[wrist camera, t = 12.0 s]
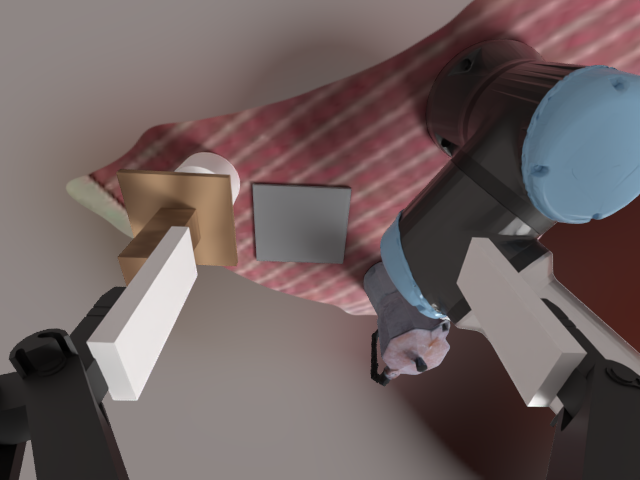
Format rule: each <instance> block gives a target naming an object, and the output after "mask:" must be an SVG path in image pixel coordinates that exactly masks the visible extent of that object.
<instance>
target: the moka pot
mask: <svg viewBox="0 0 640 480" xmlns="http://www.w3.org/2000/svg"><path fill="white" fill-rule="evenodd" d="M364 290H365V292H366V294H367V296H368V298H369V300H370V302H371V304H372V306H373V307H374V309H375V311H376V313H377V315H378V319H377V325H378V329H377V331H376V332H375V333H373V334H372V344H371V345H372V353H371V357H372V358H371V379H373V380H374V381H376V382H377V383H378V382H379V384H381V385H383V386H386V384H387V383H389V381H390V380H391V379H395V378H396V377H397V376H399V374H400V373H402V374H413V375H417V374H419V373H422V372H424V371H427V370H429V369H431V368H434V367H436V366H438V365H440V363H441V362H442V360H443V358H444V356H445V355H446V353H447V352H448V350H449V348H450V346H449V344H448V343H447V341H446V339H445V338H446V336H447V334H448V332H449V328H450V322H449V320H447V319H445V320H442V319H440V318H438V319H434V318H430V317H427V316H425V315H424V314H422V313H421V312H419V311H418V309H417V307H416V306H412V305H411V304H410V303H409V302H408V301H407V300H406V299H405V298H404V297H403V296H402V294H401V293H400V292H399V291H398V289H397V288H396V286H395V285H394V283H393V282H392V280H391V279H390V277H389V275H388V273H387V271H386V269H385V267H384V264H383V262H379V263H377V264H375V265H374V266H372V267H371V268H370V269H369V270H368V272H367V273H366V274H365V276H364ZM378 337H379V341H380V348H381V357H382V359H383V361H384V362H385V363H386V364H387V366H386V367H385V368H384V371H383V372H382V374H381V375H379V374H378V373H377V368H378V363H377V348H376V347H377V344H376V343H377V339H378Z"/></svg>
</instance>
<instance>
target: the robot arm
mask: <svg viewBox="0 0 640 480" xmlns="http://www.w3.org/2000/svg"><path fill="white" fill-rule="evenodd" d="M426 121H427V127H428V131H429V133H430V136H431V138H432V139H433V141H434V142H435V144H436V145H437V146H438V147H439V148H440V149H441V150H442V151H443V152H444V153H446V154H447V155H448V156H450V157H452V159H451V160H449V162H448V163H447V164H446V165H445V166H444V167H443V168H442V169H441V170H440V171H439V173H438V174H437V175H436V176H435V177H434V178H433V179H432V180H431V181H430V182H429V183H428V185H427V186H426V187H425V188H424V189H423V190H422V191H421V192H420V193H419V194H418V195H417V196H416V197H415V198H414V199H413V200H412V202H411V203H410V204H409V205H408V206H407V207H406V208H405V209H403V210H402V211H400V212H399V214H398V215H397V217H396V220H395V221H394V222H393V223H392V225H391V226H390V227H389V228H388V229H387V230H386V232H385V233H384V235H383V236H382V239H381V244H380V248H381V258H382V261H383V264H384V267H385V269H386V271H387V273H388V275H389V277H390V279H391V280H392V282H393V283H394V285H395V286H396V288H397V289H398V291H399V292H400V293H401V294H402V296H403V297H404V298H405V299H406V300H407V301H408V302H409V303H410V304H411V305H412V306H416V307H417V309H418V311H419V312H421V313H422V314H424V315H425V316H427V317H430V318H434V319H438V318H444V317H446V316H448V318H449V319H450V320H451V321H452V322H453V323H454V324H455V325H456V326H457V327H458V328H463V329H470V330H477V331H479V332H481V333H483V334H484V336H485V337H487V339H488V340H489V341H490V342H491V344H492V346H493V347H494V349H495V351H496V353H497V354H498V356H499V358H500V359H501V361H502V363H503V365H504V366H505V368H506V370H507V372H508V373H509V375H510V377H511V379H512V380H513V382H514V384H515V385H516V387H517V389H518V391H519V392H520V394H521V396H522V398H523V399H524V401H525V403H526V405H527V406H539V407H540V406H541V407H550V408H551V409H552V410H553V411H554V412H555V413H556V414H557V415H556V416H555V418H554V419H553V421H552V422H551V424H550V425H551V426H552V427H554V425H555V424H556V423H557V426H556V431H555V436H554V441H553V446H552V451H551V456H550V461H549V466H548V471H547V476H546V480H640V354H639V353H638V352H637V351H636V350H635V349H634V348H632V347H631V346H630V345H629V344H628V343H627V342H626V341H625V340H623V339H622V338H621V337H620V336H619V335H618V334H617V333H616V332H615V331H613V330H612V329H611V328H610V327H609V326H608V325H607V324H606V323H604V322H603V321H602V320H601V319H600V318H599V317H598V316H597V315H595V314H594V313H593V312H592V311H591V310H590V309H589V308H588V307H586V306H585V305H584V304H583V303H582V302H581V301H580V300H578V299H577V298H576V297H575V296H574V295H573V294H572V293H571V292H569V291H568V290H567V289H566V288H565V287H564V286H563V285H562V284H560V283H559V282H558V281H557V280H556V278H555V277H554V275H553V254H552V253H551V252H550V251H549V250H548V249H547V248H546V247H544V246H543V245H542V244H541V243H540V242H539V241H538V238H539V237H540V236H541V235H542V234H543V233H544V232H546V231H547V230H548V229H549V228H551V227H552V226H553V225H554V224H555V223H556V222H565V223H573V224H575V223H579V224H580V223H586V222H589V221H590V219H591V218H595V219H602V218H605V217H607V216H609V215H611V214H613V213H615V212H616V211H618V210H619V209H621V208H623V207H624V206H626V205H627V204H628V203H630V202H631V201H632V200H633V199H634V198H636V197H637V196H638V195H639V194H640V76H639V75H635V74H631V73H627V72H623V71H618V70H617V69H615V68H613V67H610V68H609V67H608V66H604V65H593V66H584V65H575V64H565V63H555V62H546V61H545V60H544V59H543V58H542V57H541V56H540V54H539V53H538V52H537V51H536V50H534V49H533V48H532V47H530V46H528V45H526V44H524V43H522V42H518V41H514V40H501V39H496V40H487V41H483V42H480V43H477V44H475V45H472V46H470V47H468V48H467V49H465V50H463V51H462V52H460V53H459V54H458V55H456V56H455V57H454V58H453V59H452V60H451V61H450V62H449V63H448V64H447V65H446V66H445V67H444V68H443V70H442V71H441V72H440V74H439V75H438V77H437V78H436V80H435V82H434V84H433V86H432V89H431V91H430V94H429V97H428V101H427V107H426ZM196 277H197V270H196V264H195V259H194V253H193V247H192V242H191V236H190V231H189V227H177V226H172V227H171V228H170V229H169V231H168V232H167V233H166V235H165V236H164V237H163V239H162V240H161V241H160V243H159V244H158V246H157V247H156V248H155V250H154V251H153V252H152V254H151V255H150V256H149V258H148V259H147V260H146V262H145V263H144V265H143V266H142V267H141V269H140V270H139V271H138V273H137V274H136V275H135V277H134V278H133V279H132V281H131V282H130V284H129V285H128V286H127V287H114V288H112V289H111V290H110V291H108V292H107V293H105V294H104V295H102V296H101V297H100V299H99V300H98V301H97V302H96V304H95V305H94V307H93V308H92V309H91V310H90V311H89V313H88V314H87V316H86V317H84V319H83V320H82V321H81V322H80V323H79V325H78V326H77V327H76V328H75V330H74V331H73V332H72V333H71V335H70V336H69V335H68V334H67V332H66V331H65V330H61V329H47V330H43V331H40V332H36V333H34V334H32V335H30V336H28V337H26V338H25V339H23V340H22V341H21V342H19V343H18V344H17V345H16V346H15V347H14V348H13V350H12V351H11V352H10V356H9V360H10V361H11V363H12V364H13V366H14V368H15V369H16V371H17V372H12V373H8V374H3V375H0V480H19V476H20V471H21V466H22V461H23V456H24V451H25V446H26V442H27V441H28V440H31V443H32V450H33V456H34V464H35V470H36V477H37V480H129V477H128V474H127V471H126V468H125V466H124V463H123V460H122V457H121V454H120V451H119V448H118V446H117V443H116V440H115V437H114V434H113V431H112V428H111V425H110V422H109V419H108V416H107V413H106V410H105V408H104V405H103V403H102V400H103V398H104V396H105V394H106V393H107V391H108V390H109V392H110V394H111V396H112V398H113V400H134V401H137V400H138V398H139V396H140V394H141V392H142V390H143V388H144V386H145V383H146V381H147V379H148V377H149V375H150V373H151V371H152V368H153V367H154V365H155V362H156V360H157V358H158V356H159V354H160V352H161V350H162V348H163V346H164V344H165V342H166V340H167V338H168V336H169V333H170V331H171V329H172V327H173V325H174V323H175V321H176V319H177V317H178V315H179V312H180V310H181V308H182V306H183V304H184V302H185V300H186V298H187V296H188V294H189V292H190V290H191V288H192V286H193V283H194V281H195V279H196Z"/></svg>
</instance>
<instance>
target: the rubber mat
mask: <svg viewBox="0 0 640 480" xmlns="http://www.w3.org/2000/svg"><path fill="white" fill-rule="evenodd" d="M350 197H351V188H343V187H321V186H298V185H276V184H254V183H253V202H254V220H255V238H256V256H257V261H281V262H310V263H339V264H343V259H344V250H345V241H346V233H347V224H348V215H349V206H350Z"/></svg>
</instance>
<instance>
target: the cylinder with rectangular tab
mask: <svg viewBox="0 0 640 480" xmlns="http://www.w3.org/2000/svg"><path fill="white" fill-rule="evenodd" d="M174 172H187V173H207V174H227V175H230V177H231V189H232V200H233V204H234V202H235V200H236V198H237V195H238V193H239V189H240V179H239V176H238V173H237V171H236V170H235V168H234V167H233V165H232V164H231V163H230V162H229V161H228V160H226V159H225V158H223V157H221V156H220V155H217V154H214V153H209V152H201V153H196V154H193V155H192V156H190V157H188V158H187V159H186V160H185V161H184V162H183V163H182V164H181V165H180V166H179V167H178V168H177V169H176V170H175V171H174Z"/></svg>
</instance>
